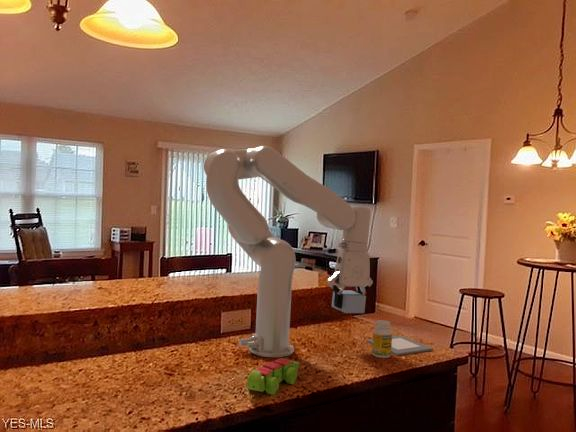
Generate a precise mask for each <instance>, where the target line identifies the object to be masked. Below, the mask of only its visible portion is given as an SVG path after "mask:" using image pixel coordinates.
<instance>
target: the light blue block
mask: <svg viewBox="0 0 576 432" xmlns="http://www.w3.org/2000/svg"><path fill="white" fill-rule="evenodd" d="M341 295H343V301H342V308H337V307H335V306H334V297H335V293H334V292H333V291H332V299H331V307H332V308H333V309H336V310H338V311H339V312H342V313H344V314H365V310H366V301H367V300H366V299H367V296H366V294H365V295H362V294H359V293H357V291H354V290H352V289H351V290H349V289H347V290H346V289H344V290H343V292H342V294H341Z"/></svg>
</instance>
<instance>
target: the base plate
mask: <svg viewBox="0 0 576 432" xmlns="http://www.w3.org/2000/svg"><path fill="white" fill-rule="evenodd" d="M366 343H369V344H371V345H373V338H368V339H366ZM433 350H434V348H433V347H430V346H428V345H426V344H423V343H420V342H418V341H416V340H413V339H411V338H409V337H407V336H404V335H401V334H399V335H392V346H391V354H392V353H393V354H392V355H394V354H395V356H397V357H398V356H403V355H410V354H411V355H412V354H417V353H424V352H430V351H433Z"/></svg>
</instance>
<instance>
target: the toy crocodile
mask: <svg viewBox="0 0 576 432" xmlns="http://www.w3.org/2000/svg"><path fill="white" fill-rule="evenodd" d="M300 366H301V365H300V362H299V361H295V360H291V359H288V358H284V357H278V358H277V359H276V360H275V359H274V360H273V361H269V362H268V363H267V362H266V363H265V364H264V365H263V366H260V367H259V368H257V369H256V370H253V369H252V370H251V371H250V373H249V375H248V377H247V380H246V382H247V383H246V384H247V385H246V389H247V390H251V391H256V392H261V393H262V392H264V391H265V393H266V394H267V395H270V396H274V395H276V394H277V392H278V390H279V388H280V383H281V382H283V381H285V382H286V383H287V384H289V385H294V384H295V383H296V381H297V378H298V371H299V368H300Z"/></svg>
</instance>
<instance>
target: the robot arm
mask: <svg viewBox="0 0 576 432" xmlns="http://www.w3.org/2000/svg"><path fill="white" fill-rule="evenodd" d="M203 170H204V174H205V175H206V182H205V184H206V192H207V196H208V199H209V202H210V203H211V205H212V206H213V208H214V209H215V210H216V211H217V213H218V214H219V215H220V217H222V219H223V221H225V223H226V224H227V228H228V232H229V234H230V236H231V237H232V239H233V240H234V241H235V242H236V243H237V245H239V246H240V247H241V249H242V250H243V251H244V252H245V253H246V254H247V256H248V257H250V259H251V260H252V261H253V262H254V263H255V264H256V265H257V266H259V267H260V270H259V276H258V282H257V294H256V295H257V296H256V297H257V298H256V299H257V300H256V315H255V316H256V317H255V318H256V319H255V333H253V332H252V333H251V336H250V337H249V338H239V339H238V345H239V346H240V347H243V346H244V347H245V346H246V347H247V348H248V349H249V352H250V353H252V354H254V355H255V356H259V357H264V358H285V357H288V356H291V355H292V354H293V353H294V352H295V347H294V345H293V344H291V343H290V342H289V341H290V326H291V325H290V324H291V310H292V309H291V306H292V305H291V304H292V289H293V288H292V287H293V286H292V285H293V279H294V272H295V267H296V261H297V258H296V253H295V250H294V248H293V247H292V245H291V244H290V243H289V242H287V241H286V240H284V239H281V238H278V237H275V236H274V235H273V234H272V232H271V231H270V230H269V229H270V228H269V223H268V221H267V219H266V218H265V217H264V215H263V214H262V213H261V212H260V211H259V210H258V209H257V208H256V206H254V204H253V203H252V202H251V201H250V200H249V199H248V198H247V196H246V195H245V193H244V191H242V189H241V188H240V184H239V180H246V179H253V178H261V179H262V180H263V181H265V182H266V183H267V184H268V185H270V186H271V187H273V189H275V190H276V191H277V192H279V193H280V194H281V195H283V196H284V197H285V198H287V199H289V201H292V202H294V203H296V204H298V205H301V206H303V207H306V208H308V209H310V210H312V211H314V212H315V213H316V219H317V221H318V222H319V224H320V225H322V226H323V227H324V228H328V229H334V230H337V231H342V238H341V239H342V240H341V242H339V244H338V247H339V248H340V250H339V252H338V253H337V254H338V255H337V259H336V262H335V267H334V273H333V275H331V277H329V278H328V279H327V283H328V285H329V287H330V289H331V290H332V293H333V292H334V293H335V297H334V306H335V307H337V308H342V301H343V295H341V294H342V292H343V290H345V288H346V287H347V288H348V287H351V288H352V287H353V288H354V287H355V289H356V292H357V293H359V294H362V295H365V296H366V294H367V293H366V292H367V291H368V290H369V289H370V287H371V286H372V285H373V283H374V281H373V280H372V278H371V277H370V275H371V274H370V273H371V271H370V270H371V268H370V267H371V266H370V265H371V264H370V263H371V262H370V254H369V253H368V243H369V233H370V224H371V214H372V212H371V209H370V208H369V207H366V206H362V205H351V204H350V203H348V202H347V200H345V199H343V198H342V197H341V196H340V195H339V194H337V193H336V192H335V191H333V190H332V189H330V188H329V187H327V186H325V185H324V184H322V183H320V182H319V181H318V180H316V179H315V178H312V177H311V176H309V175H307V173H305V172H304V171H302V169H300V168H299V167H297V166H296V165H295V164H294V163H292V162H291V161H290V160H289V159H287V158H286V157H285V156H284V155H283V154H281V153H280V152H279V151H277V150H276V149H275V148H273V147H271V146H268V145H261V146H257V147H253V148H247V149H239V150H238V149H237V150H231V149H227V148H222V149H219V150H216V151H212V152H211V153H209V155H207V156H206V158H205V160H204V162H203Z"/></svg>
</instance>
